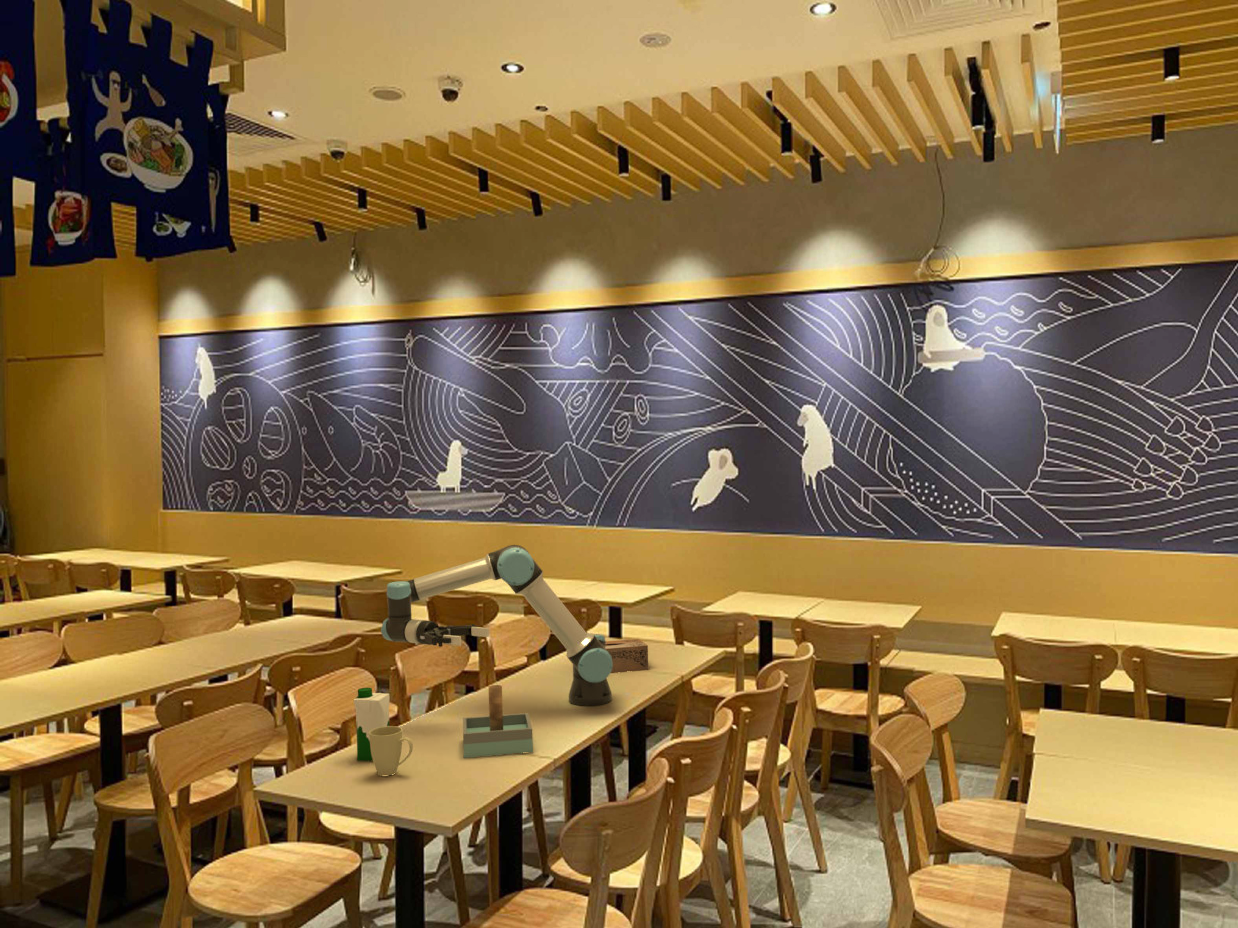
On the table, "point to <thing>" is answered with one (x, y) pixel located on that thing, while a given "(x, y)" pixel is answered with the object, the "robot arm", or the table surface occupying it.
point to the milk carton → (369, 718)
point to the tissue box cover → (628, 655)
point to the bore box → (497, 736)
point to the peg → (495, 707)
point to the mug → (387, 748)
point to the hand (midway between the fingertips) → (474, 636)
